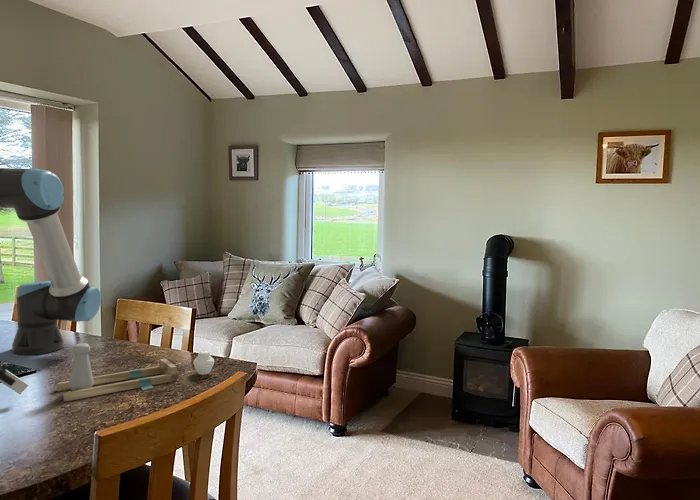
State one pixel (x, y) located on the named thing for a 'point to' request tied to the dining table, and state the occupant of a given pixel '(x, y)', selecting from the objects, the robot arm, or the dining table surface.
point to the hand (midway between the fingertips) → (23, 389)
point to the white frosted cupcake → (203, 363)
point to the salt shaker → (81, 368)
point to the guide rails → (144, 383)
